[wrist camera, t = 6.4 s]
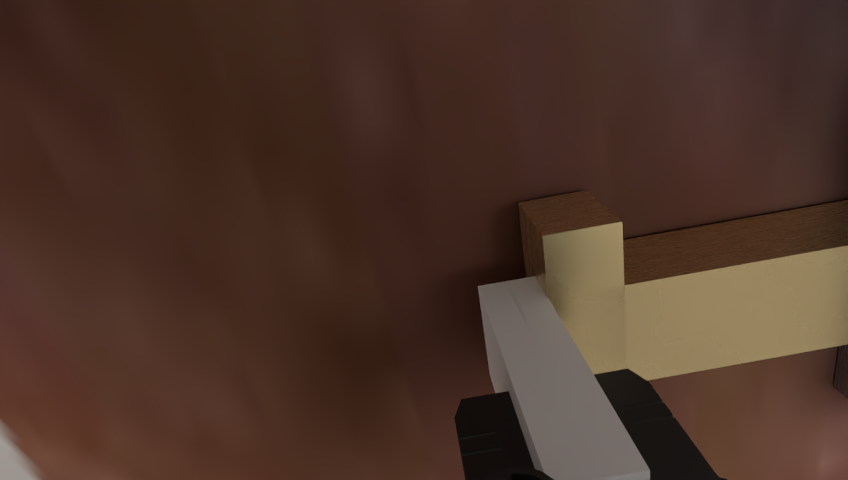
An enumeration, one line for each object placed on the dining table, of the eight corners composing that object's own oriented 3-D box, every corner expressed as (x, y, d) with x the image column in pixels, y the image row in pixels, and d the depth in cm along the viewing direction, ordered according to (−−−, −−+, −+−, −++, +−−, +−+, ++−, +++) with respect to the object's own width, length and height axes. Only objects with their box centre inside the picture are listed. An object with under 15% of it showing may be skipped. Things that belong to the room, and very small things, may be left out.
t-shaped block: (517, 202, 15) (542, 235, 12) (931, 128, 15) (1030, 148, 12) (537, 389, 17) (561, 446, 15) (896, 325, 17) (973, 371, 15)
